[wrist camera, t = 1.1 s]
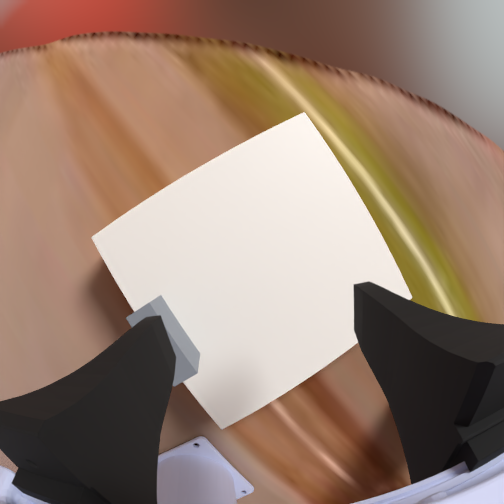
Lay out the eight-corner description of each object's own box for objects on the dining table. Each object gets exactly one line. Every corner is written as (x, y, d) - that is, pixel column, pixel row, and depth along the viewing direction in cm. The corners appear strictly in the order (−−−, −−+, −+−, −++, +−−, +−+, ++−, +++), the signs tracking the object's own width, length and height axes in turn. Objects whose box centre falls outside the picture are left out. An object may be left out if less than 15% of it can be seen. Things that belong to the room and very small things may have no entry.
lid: (221, 425, 17) (223, 458, 14) (94, 237, 17) (67, 232, 13) (408, 296, 19) (442, 302, 15) (302, 115, 18) (320, 87, 15)
